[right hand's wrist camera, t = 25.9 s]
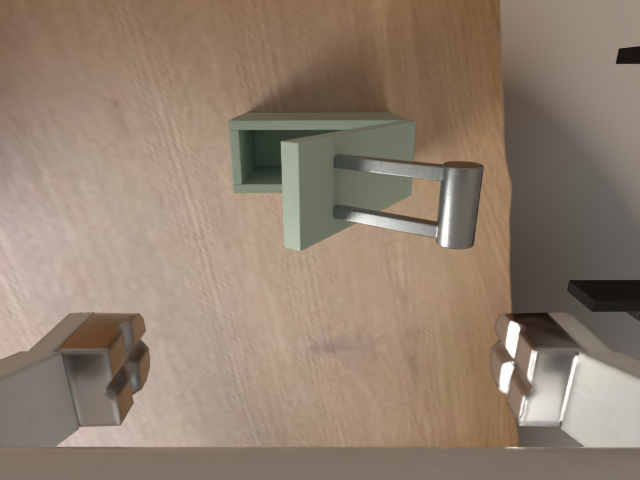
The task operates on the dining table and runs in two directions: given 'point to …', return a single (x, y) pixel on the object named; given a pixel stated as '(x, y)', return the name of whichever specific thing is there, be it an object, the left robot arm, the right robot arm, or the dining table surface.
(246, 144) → the chest
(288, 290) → the dining table surface
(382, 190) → the lid
